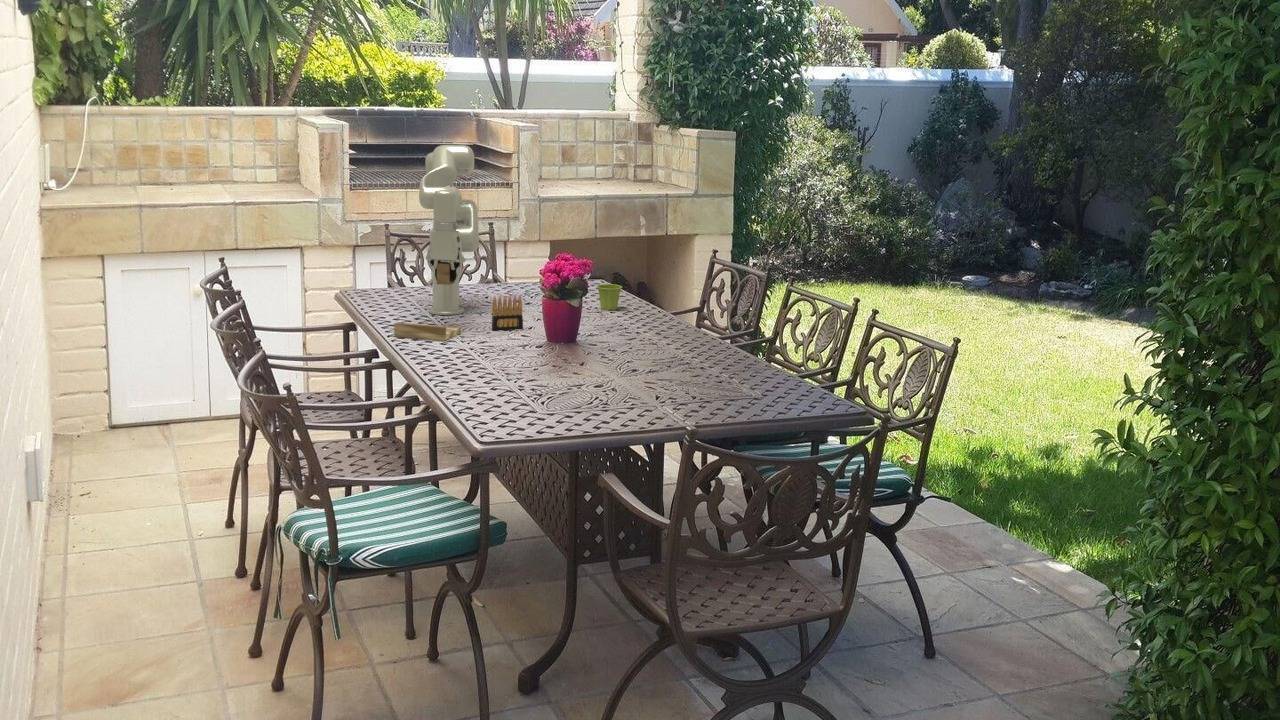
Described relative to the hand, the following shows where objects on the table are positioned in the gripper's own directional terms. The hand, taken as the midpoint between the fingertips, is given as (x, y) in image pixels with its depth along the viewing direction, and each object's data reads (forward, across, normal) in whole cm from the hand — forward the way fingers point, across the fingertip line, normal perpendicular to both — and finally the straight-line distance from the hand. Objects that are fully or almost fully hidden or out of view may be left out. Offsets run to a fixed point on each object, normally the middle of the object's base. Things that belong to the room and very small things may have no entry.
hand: (445, 279), depth 433 cm
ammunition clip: (+17, -20, -6) cm, 27 cm away
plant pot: (+17, -41, -54) cm, 71 cm away
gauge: (+1, 0, -3) cm, 4 cm away
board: (+17, +1, +13) cm, 21 cm away
